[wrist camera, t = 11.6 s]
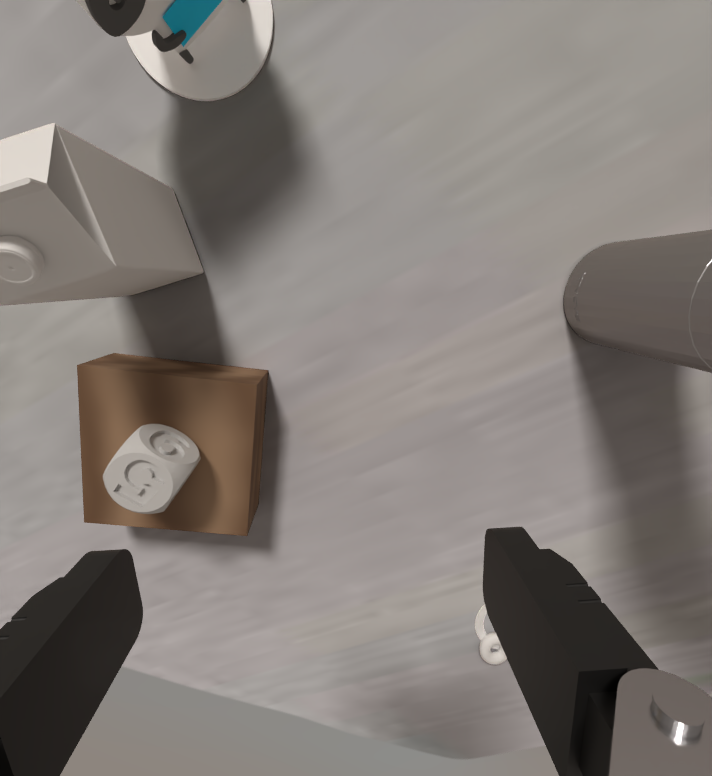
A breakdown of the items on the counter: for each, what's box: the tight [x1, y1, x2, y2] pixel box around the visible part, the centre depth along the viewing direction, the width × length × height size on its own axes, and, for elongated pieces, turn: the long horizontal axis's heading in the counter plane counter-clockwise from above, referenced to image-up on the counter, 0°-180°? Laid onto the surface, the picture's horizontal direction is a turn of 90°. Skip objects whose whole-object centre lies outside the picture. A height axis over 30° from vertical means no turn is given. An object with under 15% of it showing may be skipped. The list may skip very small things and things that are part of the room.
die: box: [103, 424, 201, 514], centre depth 32 cm, size 5×5×5 cm
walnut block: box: [77, 353, 268, 536], centre depth 38 cm, size 14×14×6 cm
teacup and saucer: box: [475, 604, 507, 665], centre depth 46 cm, size 9×8×4 cm
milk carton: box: [0, 123, 204, 306], centre depth 26 cm, size 7×7×19 cm
